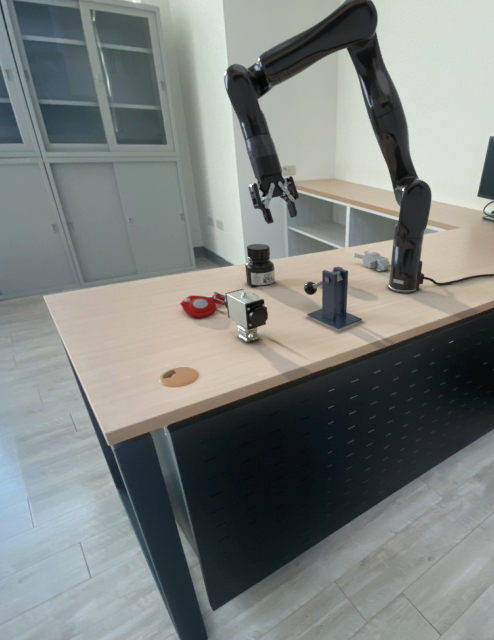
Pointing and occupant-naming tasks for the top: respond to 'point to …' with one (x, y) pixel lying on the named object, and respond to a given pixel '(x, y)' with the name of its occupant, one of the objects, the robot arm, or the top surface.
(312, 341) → the top surface
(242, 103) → the robot arm
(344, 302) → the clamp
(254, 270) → the ink bottle
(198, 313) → the tracker holder
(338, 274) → the clamp handle
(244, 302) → the pneumatic valve
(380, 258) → the bunny figurine
